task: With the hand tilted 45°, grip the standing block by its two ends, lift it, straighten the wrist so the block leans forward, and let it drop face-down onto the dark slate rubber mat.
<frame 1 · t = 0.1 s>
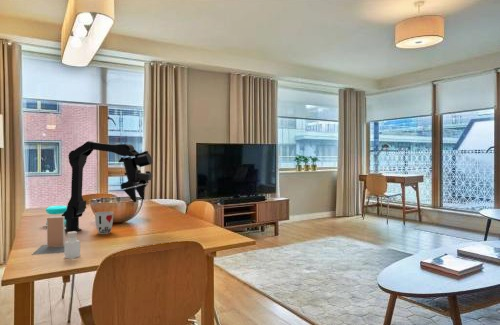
hand: (139, 200, 170), 15 cm above the table, tool pointing down, fingers open, 9 cm apart
pepper shaker: (72, 258, 129), on the table
cup: (104, 233, 168), on the table
block: (56, 246, 144), resting on mat
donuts: (57, 225, 186), on the table
mat: (54, 249, 140), on the table
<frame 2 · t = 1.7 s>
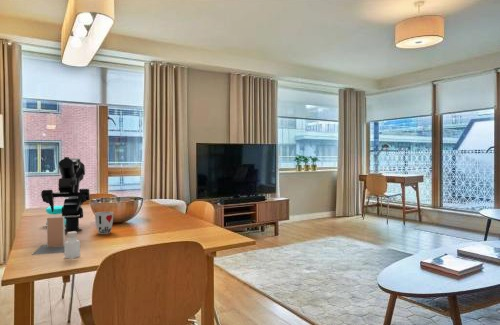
hand: (64, 211, 151), 14 cm above the table, tool tilted 45°, fingers open, 9 cm apart
nothing on the table moved.
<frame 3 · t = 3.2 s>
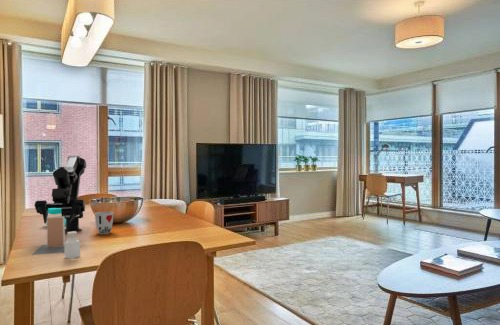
hand: (57, 222, 146), 10 cm above the table, tool tilted 45°, fingers open, 9 cm apart
nothing on the table moved.
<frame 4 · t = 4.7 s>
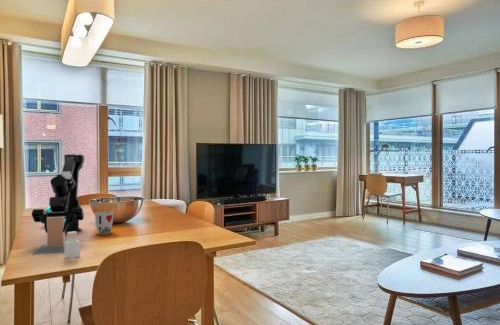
hand: (55, 231, 142), 7 cm above the table, tool tilted 45°, fingers closed on block, 6 cm apart
block: (56, 246, 144), resting on mat, touching gripper
everything else where it was.
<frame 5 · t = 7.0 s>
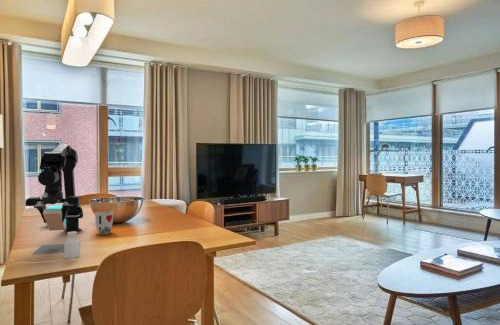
hand: (54, 222, 141), 11 cm above the table, tool pointing down, fingers closed on block, 6 cm apart
block: (57, 228, 146), point 7 cm above the table, tilted 45°, touching gripper
everything else where it was.
when the fingers open (6 cm above the table, at t = 8.3 s): block drops 1 cm and tips over, resting on mat.
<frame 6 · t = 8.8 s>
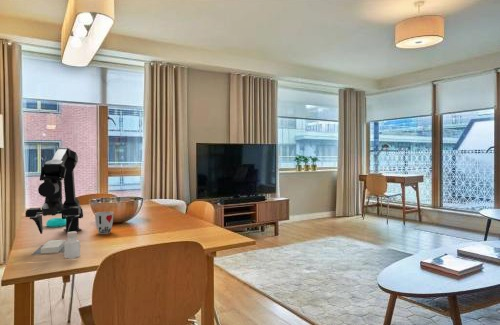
hand: (54, 233, 141), 6 cm above the table, tool pointing down, fingers open, 9 cm apart
block: (57, 242, 145), point 2 cm above the table, tilted 90°, touching mat
everything else where it was.
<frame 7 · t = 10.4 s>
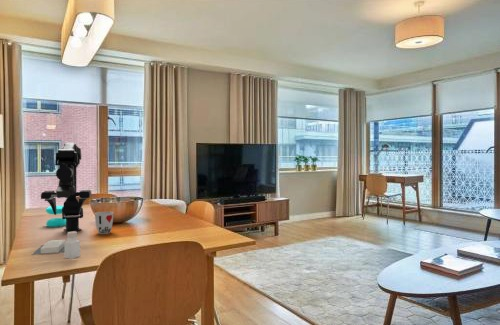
hand: (67, 214, 152), 12 cm above the table, tool pointing down, fingers open, 9 cm apart
nothing on the table moved.
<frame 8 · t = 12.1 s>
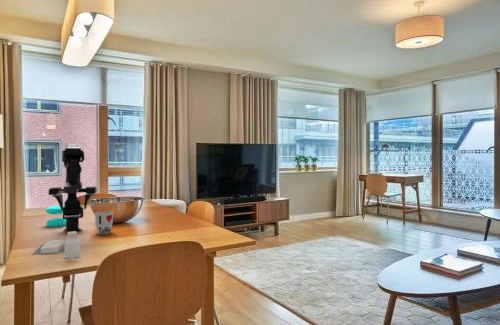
hand: (73, 209, 158), 13 cm above the table, tool pointing down, fingers open, 9 cm apart
nothing on the table moved.
at the end: block tilted 90°; block 5.1 cm from the mat (horizontally); the gripper is holding nothing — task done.
